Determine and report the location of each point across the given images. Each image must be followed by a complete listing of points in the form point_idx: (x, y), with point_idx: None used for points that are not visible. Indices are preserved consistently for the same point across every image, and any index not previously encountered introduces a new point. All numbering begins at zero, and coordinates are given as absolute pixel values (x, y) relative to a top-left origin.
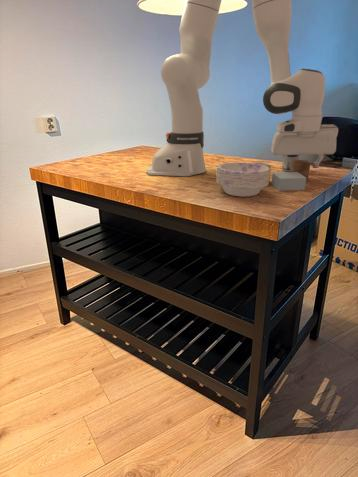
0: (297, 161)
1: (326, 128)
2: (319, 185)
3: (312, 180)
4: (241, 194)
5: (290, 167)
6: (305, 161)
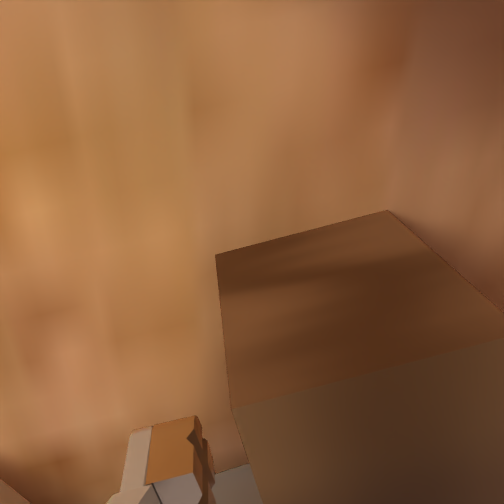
0: (336, 493)
1: None
2: None
3: None
4: None
5: (223, 324)
6: (468, 461)
